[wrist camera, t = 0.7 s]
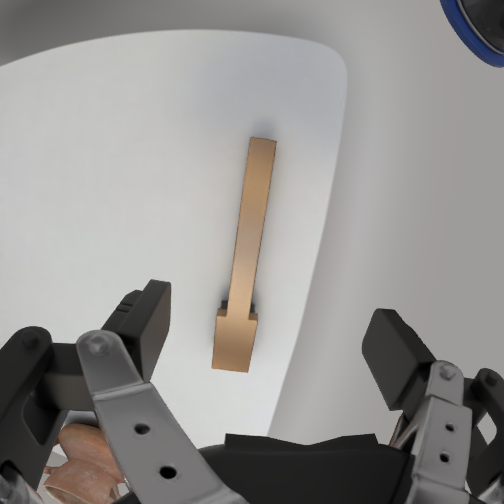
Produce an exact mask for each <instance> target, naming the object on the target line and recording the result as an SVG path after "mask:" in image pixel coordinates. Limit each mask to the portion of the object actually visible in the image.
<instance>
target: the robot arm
mask: <svg viewBox="0 0 504 504" xmlns="http://www.w3.org/2000/svg"><path fill="white" fill-rule="evenodd" d="M455 2H456V5H457V8H458V10H459V12H460V14H461V16H462V18H463V20H464V21H465V23H466V24H467V26H468V27H469V29H470V30H471V32H472V33H473V34H474V35H475V37H476V38H477V39H478V40H479V41H480V42H481V43H482V44H483V45H484V46H485V47H487V48H488V49H489V50H490V51H492V52H494V53H496V54H498V55H502V56H504V0H455ZM170 313H171V283H170V282H165V281H159V280H153V279H151V280H150V281H149V283H148V284H147V286H146V287H145V288H144V290H143V291H140V290H134V291H133V292H131V293H129V294H127V295H126V296H125V297H124V298H123V300H122V301H121V302H120V304H119V305H118V306H117V308H116V310H114V312H113V313H112V314H111V316H110V317H109V318H108V320H107V321H106V323H105V324H104V325H103V327H102V328H101V330H93V331H89V332H87V333H84V334H83V335H81V336H80V337H79V338H78V340H77V342H76V344H68V343H53V342H52V338H51V335H50V333H49V332H48V331H47V330H46V329H44V328H42V327H37V326H30V327H25V328H22V329H20V330H18V331H17V332H16V333H15V334H14V335H13V336H12V337H11V338H10V339H9V340H8V341H7V343H6V344H5V345H4V346H3V347H2V348H1V350H0V504H44V502H43V500H42V498H41V497H40V495H39V494H38V493H37V492H36V491H37V488H38V485H39V482H40V479H41V477H42V474H43V471H44V469H45V466H46V463H47V461H48V458H49V456H50V453H51V451H52V449H53V446H54V444H55V441H56V439H57V437H58V434H59V432H60V430H61V427H62V425H63V423H64V421H65V419H66V416H67V414H68V412H69V410H72V411H92V412H94V414H95V417H96V419H97V422H98V425H99V427H100V430H101V432H102V435H103V437H104V439H105V442H106V444H107V446H108V449H109V451H110V453H111V455H112V457H113V460H114V462H115V464H116V466H117V468H118V471H119V473H120V475H121V477H122V479H123V481H124V482H125V484H126V486H127V488H128V490H129V493H127V494H126V495H124V496H122V497H121V498H119V499H117V500H116V501H114V502H112V503H111V504H504V380H503V378H502V377H501V376H500V375H499V374H498V373H497V372H495V371H493V370H491V369H487V368H483V369H480V371H479V372H478V374H477V376H476V377H475V378H474V379H470V378H464V377H463V374H462V372H461V370H460V369H459V368H458V367H457V366H455V365H454V364H452V363H450V362H447V361H444V360H438V361H437V360H436V358H435V357H434V356H433V354H432V353H431V352H430V351H429V349H428V348H427V347H426V345H425V344H424V343H423V342H422V340H421V339H420V338H419V337H418V335H417V334H416V332H415V331H414V330H413V329H412V328H411V327H410V326H408V325H407V324H406V323H405V322H404V321H403V320H402V318H401V317H400V316H399V314H398V313H397V312H396V311H395V310H392V309H380V308H379V309H376V310H375V311H374V313H373V316H372V318H371V321H370V324H369V326H368V329H367V331H366V334H365V337H364V339H363V342H362V354H363V356H364V358H365V360H366V362H367V364H368V366H369V368H370V370H371V372H372V374H373V377H374V379H375V380H376V383H377V385H378V387H379V389H380V391H381V393H382V395H383V398H384V400H385V402H386V404H387V406H388V408H389V410H390V411H394V410H403V413H402V414H401V416H400V417H399V420H398V422H397V425H396V428H395V431H394V433H393V436H392V438H391V441H390V443H389V445H384V444H378V441H377V439H376V436H375V434H374V433H373V434H364V435H353V436H342V437H338V438H335V439H331V440H328V441H324V442H320V443H316V444H312V445H301V444H296V443H292V442H287V441H282V440H278V439H274V438H270V437H265V436H249V435H237V434H227V433H226V435H225V441H224V444H220V445H213V446H208V447H204V448H200V449H196V447H195V446H194V445H193V443H192V442H191V441H190V439H189V438H188V436H187V435H186V434H185V432H184V431H183V429H182V428H181V426H180V425H179V424H178V422H177V421H176V419H175V418H174V416H173V415H172V413H171V412H170V410H169V409H168V407H167V405H166V404H165V402H164V401H163V399H162V398H161V396H160V394H159V393H158V391H157V390H156V388H155V386H154V385H153V384H152V383H151V382H150V379H151V376H152V374H153V371H154V368H155V366H156V363H157V360H158V358H159V355H160V353H161V350H162V348H163V345H164V342H165V340H166V337H167V335H168V331H169V326H170ZM487 412H488V414H489V415H490V417H491V418H492V420H493V422H494V423H495V425H496V428H497V433H496V436H495V438H494V439H493V440H492V442H491V443H490V444H489V445H487V443H486V441H485V439H484V437H483V436H482V434H481V432H480V430H479V429H478V427H477V424H478V423H479V422H480V421H481V419H482V418H483V417H484V415H485V414H486V413H487ZM465 480H466V481H467V483H468V486H469V488H470V491H471V493H472V494H470V493H468V491H466V490H465Z"/></svg>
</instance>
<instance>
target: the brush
mask: <svg viewBox="0 0 504 504" xmlns="http://www.w3.org/2000/svg"><path fill="white" fill-rule="evenodd" d="M276 143H277V141H274V140H268V139H261V138H254V137H250V143H249V150H248V157H247V163H246V170H245V177H244V185H243V192H242V199H241V206H240V213H239V221H238V228H237V236H236V243H235V251H234V259H233V267H232V274H231V282H230V290H229V298H228V301H222V302H221V308H220V309H218V311H217V316H216V326H215V336H214V347H213V358H212V368H213V369H220V370H228V371H237V372H246V373H248V370H249V365H250V360H251V355H252V349H253V344H254V339H255V333H256V328H257V322H258V314H257V313H255V306H254V305H252V304H251V300H252V294H253V288H254V282H255V276H256V270H257V263H258V257H259V251H260V245H261V239H262V232H263V226H264V220H265V213H266V207H267V201H268V194H269V188H270V182H271V175H272V169H273V162H274V156H275V149H276Z"/></svg>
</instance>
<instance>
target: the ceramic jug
mask: <svg viewBox="0 0 504 504" xmlns="http://www.w3.org/2000/svg"><path fill="white" fill-rule="evenodd" d="M57 444H60V446H61V448H62V450H63V452H64V453H65V455H66V456H67V458H68V462H66V463H65V464H63V465H62V466H60V467H49V466H45V469H44V471H43V472H44V473H47V474H51V475H50V476H49V477H48V478H47V480H46V481H45V483H44V484H43V489H44V491H46V492H47V493H48V494H49V495H50V496H51V497H52V498H54V499H56V500H57V501H58V502H60V503H61V504H111V503H112V502H114V501H116V500H117V499H119V498H121V496H120V495H119V491H118V487H117V484H119V483H125V482H124V481H123V479H122V477H121V475H120V473H119V471H118V468H117V466H116V464H115V462H114V460H113V457H112V455H111V453H110V451H109V449H108V446H107V444H106V442H105V439H104V437H103V435H102V432H101V430H100V429H99V428H96V427H93V426H89V425H85V424H69V425H66V426H64V427H63V428H62V429H61V431H60V433H59V434H58V437H57V439H56V441H55V444H54V446H55V445H57ZM54 446H53V447H54Z"/></svg>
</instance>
